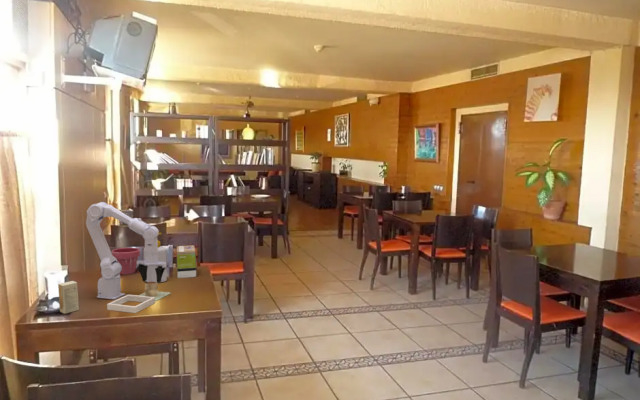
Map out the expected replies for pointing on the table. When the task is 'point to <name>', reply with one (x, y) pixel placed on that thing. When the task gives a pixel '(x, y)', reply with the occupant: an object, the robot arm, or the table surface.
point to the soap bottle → (151, 269)
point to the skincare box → (68, 297)
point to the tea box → (186, 261)
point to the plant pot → (127, 259)
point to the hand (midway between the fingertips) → (151, 281)
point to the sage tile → (159, 296)
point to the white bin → (132, 309)
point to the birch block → (151, 289)
